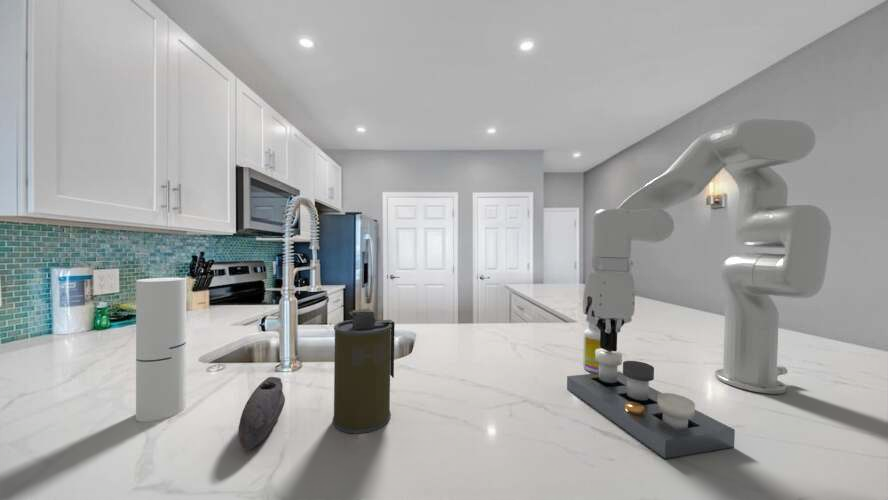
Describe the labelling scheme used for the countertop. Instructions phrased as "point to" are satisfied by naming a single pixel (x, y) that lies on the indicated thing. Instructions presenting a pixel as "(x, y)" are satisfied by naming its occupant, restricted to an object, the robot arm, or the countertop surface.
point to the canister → (363, 372)
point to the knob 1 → (608, 364)
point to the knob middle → (638, 378)
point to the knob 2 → (675, 409)
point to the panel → (650, 418)
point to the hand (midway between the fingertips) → (608, 349)
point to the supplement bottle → (591, 348)
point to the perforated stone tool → (261, 412)
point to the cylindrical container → (160, 348)
